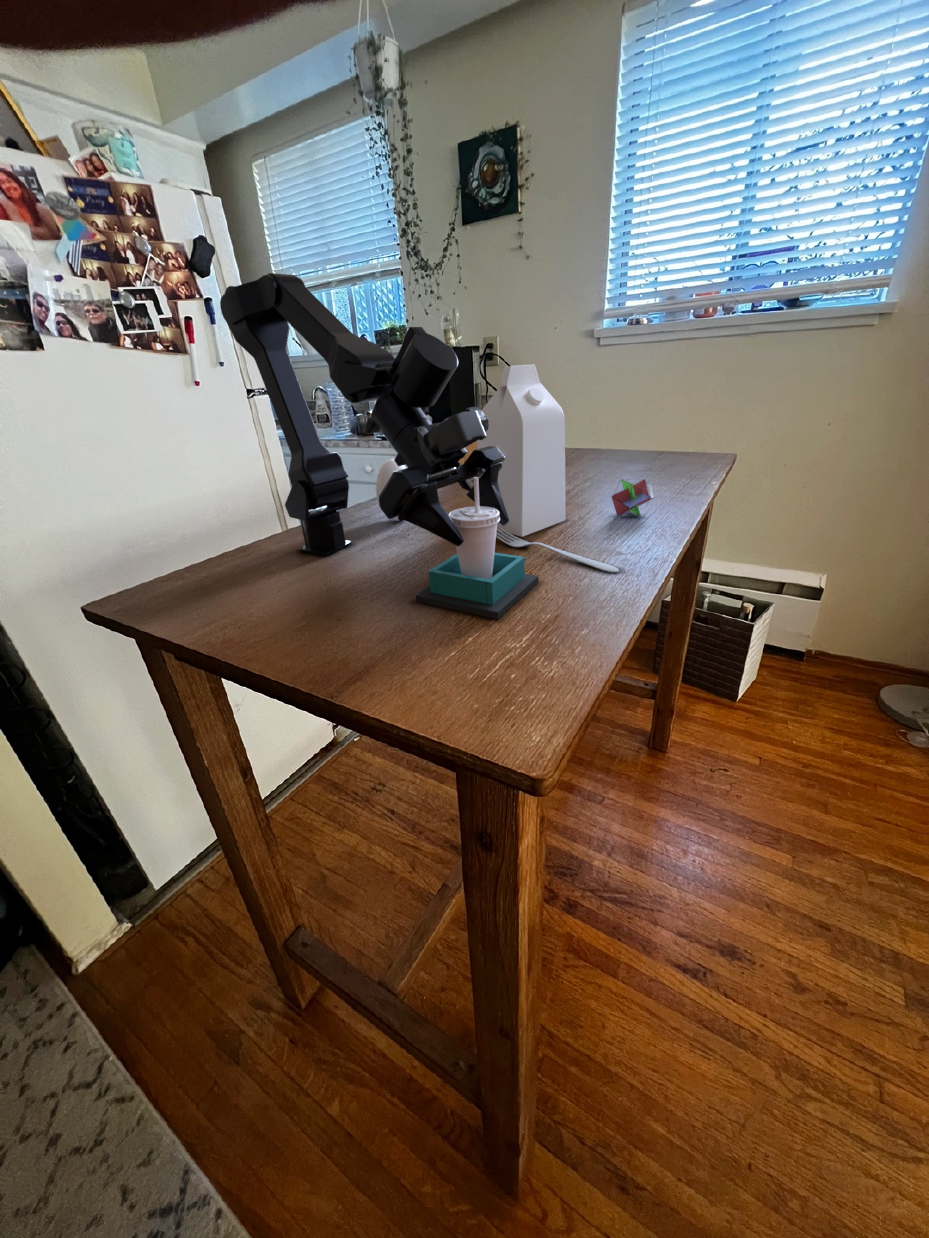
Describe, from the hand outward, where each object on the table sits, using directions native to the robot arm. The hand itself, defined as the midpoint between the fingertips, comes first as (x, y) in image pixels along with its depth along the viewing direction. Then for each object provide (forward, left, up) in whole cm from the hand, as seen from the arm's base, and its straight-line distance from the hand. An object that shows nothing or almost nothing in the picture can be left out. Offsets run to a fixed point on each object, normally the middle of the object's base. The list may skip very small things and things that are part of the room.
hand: (485, 533), depth 62 cm
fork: (+2, +17, -9) cm, 19 cm away
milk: (-9, +30, -8) cm, 33 cm away
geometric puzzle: (+8, +41, -9) cm, 43 cm away
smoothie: (-2, 0, -7) cm, 8 cm away
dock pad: (-1, 0, -8) cm, 8 cm away
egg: (-32, +23, -9) cm, 41 cm away
